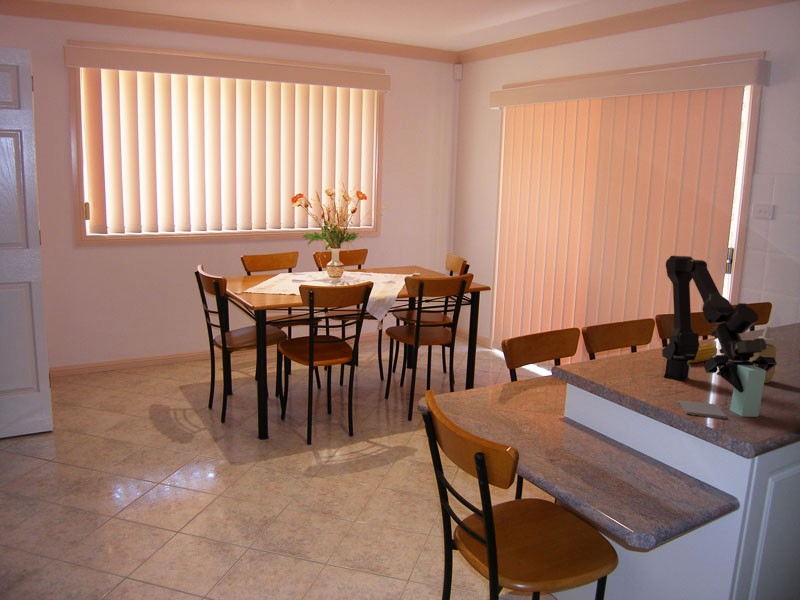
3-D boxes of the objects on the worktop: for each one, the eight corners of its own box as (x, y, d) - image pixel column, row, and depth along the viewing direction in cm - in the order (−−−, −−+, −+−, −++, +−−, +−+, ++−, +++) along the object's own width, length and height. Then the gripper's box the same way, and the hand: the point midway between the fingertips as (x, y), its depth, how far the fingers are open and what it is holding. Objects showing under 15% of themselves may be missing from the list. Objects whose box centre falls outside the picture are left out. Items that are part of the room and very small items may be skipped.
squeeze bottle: (770, 379, 220) (779, 326, 217) (775, 386, 212) (784, 331, 209) (743, 375, 223) (752, 323, 219) (747, 382, 215) (756, 327, 212)
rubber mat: (678, 402, 189) (678, 400, 189) (715, 407, 188) (716, 404, 187) (686, 414, 180) (686, 411, 179) (726, 419, 178) (726, 416, 178)
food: (704, 357, 246) (706, 341, 245) (718, 360, 242) (721, 345, 241) (670, 363, 234) (673, 346, 233) (685, 367, 230) (688, 350, 229)
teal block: (729, 410, 186) (737, 364, 183) (746, 410, 186) (753, 365, 184) (741, 416, 181) (749, 370, 178) (758, 416, 182) (766, 370, 179)
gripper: (716, 326, 182) (736, 377, 173) (777, 327, 185) (800, 378, 176) (695, 347, 191) (713, 396, 182) (754, 348, 194) (774, 397, 185)
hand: (751, 391), depth 181 cm, fingers closed on teal block, 5 cm apart
